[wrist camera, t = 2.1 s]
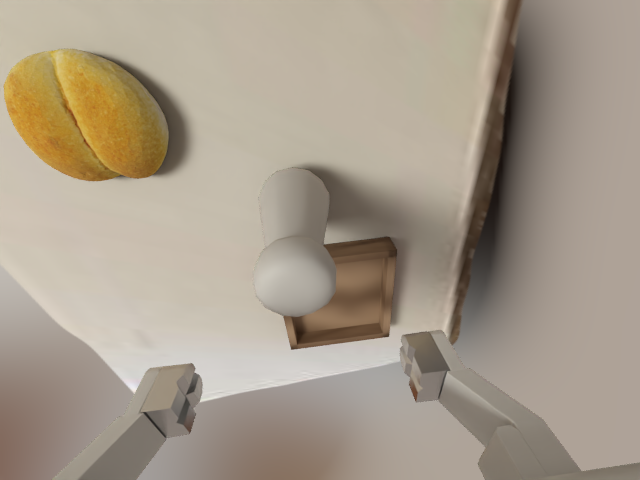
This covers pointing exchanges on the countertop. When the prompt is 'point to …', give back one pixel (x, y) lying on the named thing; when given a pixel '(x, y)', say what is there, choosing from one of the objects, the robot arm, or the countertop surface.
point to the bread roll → (86, 115)
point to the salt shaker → (294, 245)
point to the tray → (352, 297)
